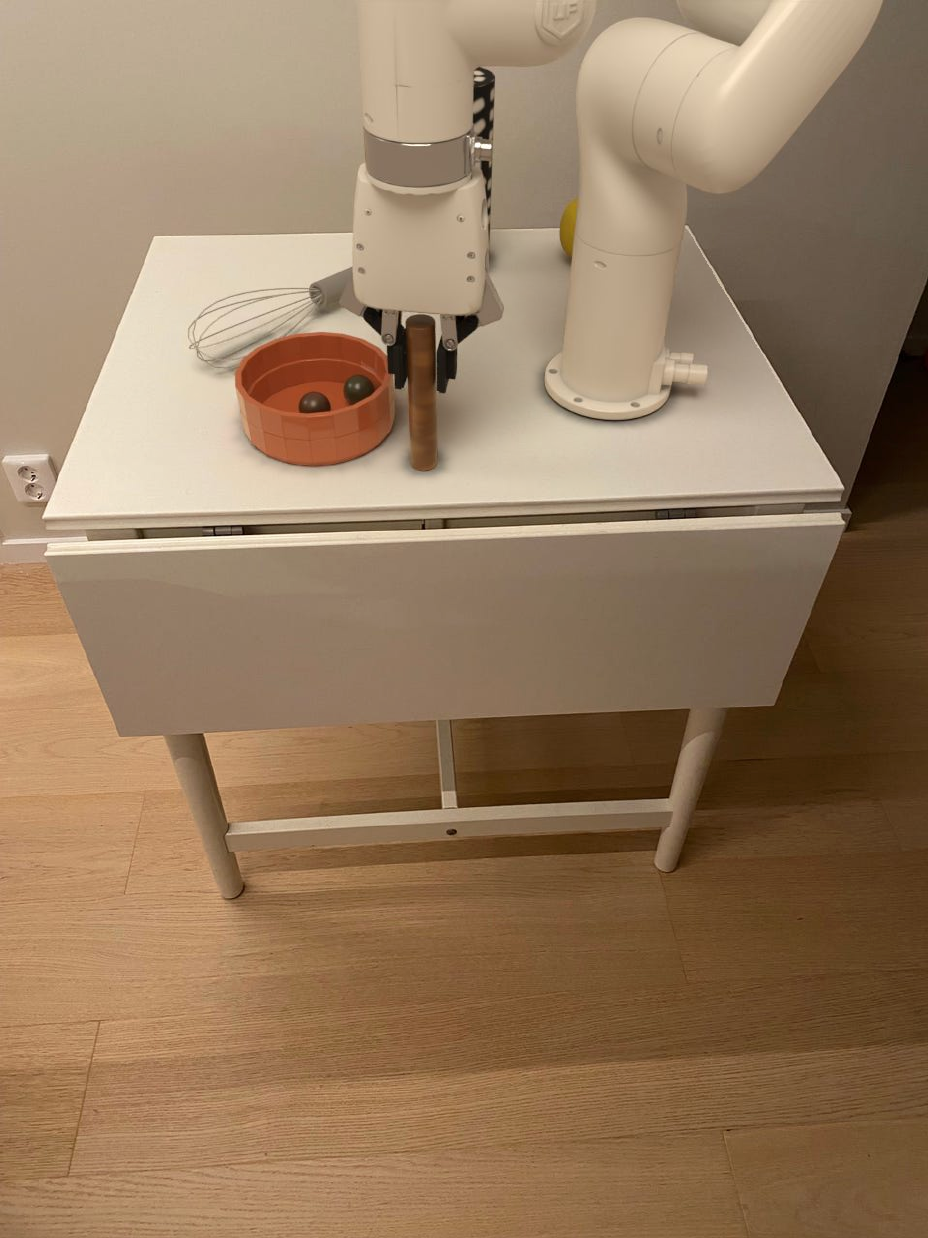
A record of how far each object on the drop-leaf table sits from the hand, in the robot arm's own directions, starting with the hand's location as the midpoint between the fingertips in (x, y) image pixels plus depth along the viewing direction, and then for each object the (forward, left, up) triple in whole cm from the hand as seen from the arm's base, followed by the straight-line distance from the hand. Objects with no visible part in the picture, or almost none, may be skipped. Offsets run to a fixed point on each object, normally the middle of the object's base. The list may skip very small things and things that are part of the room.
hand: (422, 380), depth 78 cm
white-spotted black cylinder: (+3, -40, -9) cm, 41 cm away
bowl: (+11, -5, -8) cm, 15 cm away
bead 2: (+8, -7, -6) cm, 12 cm away
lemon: (-12, -42, -9) cm, 45 cm away
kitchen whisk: (+16, -25, -9) cm, 31 cm away
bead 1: (+11, -4, -6) cm, 13 cm away
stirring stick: (0, 0, -8) cm, 8 cm away
